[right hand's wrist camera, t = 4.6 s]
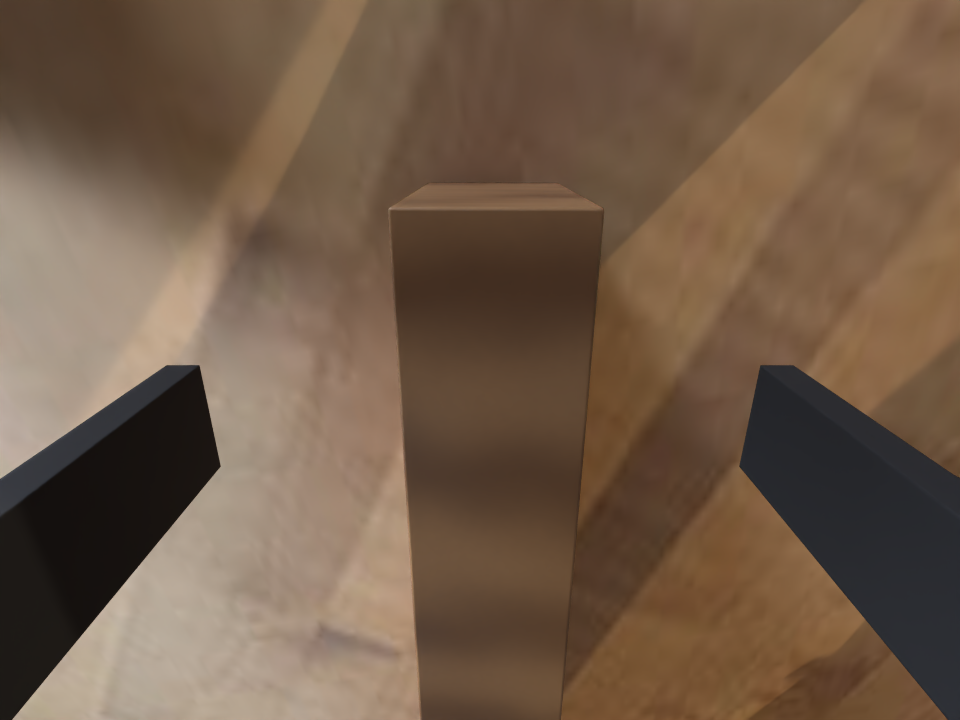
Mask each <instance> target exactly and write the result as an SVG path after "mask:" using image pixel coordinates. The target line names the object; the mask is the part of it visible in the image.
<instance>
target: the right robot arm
mask: <svg viewBox="0 0 960 720" xmlns="http://www.w3.org/2000/svg"><path fill="white" fill-rule="evenodd" d="M220 467H221V466H220V461H219V456H218V452H217V447H216V442H215V437H214V432H213V428H212V423H211V418H210V413H209V409H208V404H207V399H206V394H205V390H204V385H203V380H202V375H201V370H200V366H199V365H167V366H165V367H164V368H162V369H161V370H159V371H158V372H156V373H155V374H153V375H152V376H150V377H149V378H148V379H146V380H145V381H143V382H142V383H140V384H139V385H137V386H136V387H134V388H133V389H131V390H130V391H128V392H127V393H126V394H124V395H123V396H121V397H120V398H118V399H117V400H115V401H114V402H112V403H111V404H109V405H108V406H107V407H105V408H104V409H102V410H101V411H99V412H98V413H96V414H95V415H93V416H92V417H90V418H89V419H87V420H86V421H85V422H83V423H82V424H80V425H79V426H77V427H76V428H74V429H73V430H71V431H70V432H68V433H67V434H66V435H64V436H63V437H61V438H60V439H58V440H57V441H55V442H54V443H52V444H51V445H49V446H48V447H46V448H45V449H44V450H42V451H41V452H39V453H38V454H36V455H35V456H33V457H32V458H30V459H29V460H27V461H26V462H25V463H23V464H22V465H20V466H19V467H17V468H16V469H14V470H13V471H11V472H10V473H8V474H7V475H5V476H4V477H3V478H1V479H0V720H12V719H13V718H14V717H15V715H16V714H17V713H18V712H19V711H20V709H21V708H22V707H23V706H24V704H25V703H26V702H27V701H28V700H29V698H30V697H31V696H32V695H33V694H34V692H35V691H36V690H37V689H38V687H39V686H40V685H41V684H42V683H43V681H44V680H45V679H46V678H47V677H48V675H49V674H50V673H51V672H52V670H53V669H54V668H55V667H56V666H57V664H58V663H59V662H60V661H61V660H62V658H63V657H64V656H65V655H66V653H67V652H68V651H69V650H70V649H71V647H72V646H73V645H74V644H75V643H76V641H77V640H78V639H79V638H80V636H81V635H82V634H83V633H84V632H85V630H86V629H87V628H88V627H89V626H90V624H91V623H92V622H93V621H94V620H95V618H96V617H97V616H98V615H99V613H100V612H101V611H102V610H103V609H104V607H105V606H106V605H107V604H108V603H109V601H110V600H111V599H112V598H113V596H114V595H115V594H116V593H117V592H118V590H119V589H120V588H121V587H122V586H123V584H124V583H125V582H126V581H127V579H128V578H129V577H130V576H131V575H132V573H133V572H134V571H135V570H136V569H137V567H138V566H139V565H140V564H141V562H142V561H143V560H144V559H145V558H146V556H147V555H148V554H149V553H150V552H151V550H152V549H153V548H154V547H155V545H156V544H157V543H158V542H159V541H160V539H161V538H162V537H163V536H164V535H165V533H166V532H167V531H168V530H169V528H170V527H171V526H172V525H173V524H174V522H175V521H176V520H177V519H178V518H179V516H180V515H181V514H182V513H183V511H184V510H185V509H186V508H187V507H188V505H189V504H190V503H191V502H192V501H193V499H194V498H195V497H196V496H197V494H198V493H199V492H200V491H201V490H202V488H203V487H204V486H205V485H206V484H207V482H208V481H209V480H210V479H211V477H212V476H213V475H214V474H215V473H216V471H217V470H218V469H219V468H220ZM739 467H740V468H741V469H742V470H743V471H744V473H745V474H746V475H747V476H748V477H749V479H750V480H751V481H752V482H753V484H754V485H755V486H756V487H757V488H758V490H759V491H760V492H761V493H762V494H763V496H764V497H765V498H766V499H767V501H768V502H769V503H770V504H771V505H772V507H773V508H774V509H775V510H776V511H777V513H778V514H779V515H780V516H781V518H782V519H783V520H784V521H785V522H786V524H787V525H788V526H789V527H790V528H791V530H792V531H793V532H794V533H795V535H796V536H797V537H798V538H799V539H800V541H801V542H802V543H803V544H804V545H805V547H806V548H807V549H808V550H809V552H810V553H811V554H812V555H813V556H814V558H815V559H816V560H817V561H818V562H819V564H820V565H821V566H822V567H823V569H824V570H825V571H826V572H827V573H828V575H829V576H830V577H831V578H832V579H833V581H834V582H835V583H836V584H837V586H838V587H839V588H840V589H841V590H842V592H843V593H844V594H845V595H846V596H847V598H848V599H849V600H850V601H851V603H852V604H853V605H854V606H855V607H856V609H857V610H858V611H859V612H860V613H861V615H862V616H863V617H864V618H865V620H866V621H867V622H868V623H869V624H870V626H871V627H872V628H873V629H874V630H875V632H876V633H877V634H878V635H879V637H880V638H881V639H882V640H883V641H884V643H885V644H886V645H887V646H888V647H889V649H890V650H891V651H892V652H893V654H894V655H895V656H896V657H897V658H898V660H899V661H900V662H901V663H902V664H903V666H904V667H905V668H906V669H907V671H908V672H909V673H910V674H911V675H912V677H913V678H914V679H915V680H916V681H917V683H918V684H919V685H920V686H921V687H922V689H923V690H924V691H925V692H926V694H927V695H928V696H929V697H930V698H931V700H932V701H933V702H934V703H935V704H936V706H937V707H938V708H939V709H940V711H941V712H942V713H943V714H944V715H945V717H946V718H947V719H948V720H960V478H959V477H957V476H955V475H953V474H952V473H950V472H949V471H947V470H946V469H944V468H943V467H941V466H940V465H938V464H937V463H935V462H934V461H933V460H931V459H930V458H928V457H927V456H925V455H924V454H922V453H921V452H919V451H918V450H916V449H915V448H914V447H912V446H911V445H909V444H908V443H906V442H905V441H903V440H902V439H900V438H899V437H897V436H896V435H894V434H893V433H892V432H890V431H889V430H887V429H886V428H884V427H883V426H881V425H880V424H878V423H877V422H875V421H874V420H873V419H871V418H870V417H868V416H867V415H865V414H864V413H862V412H861V411H859V410H858V409H856V408H855V407H853V406H852V405H851V404H849V403H848V402H846V401H845V400H843V399H842V398H840V397H839V396H837V395H836V394H834V393H833V392H832V391H830V390H829V389H827V388H826V387H824V386H823V385H821V384H820V383H818V382H817V381H815V380H814V379H812V378H811V377H810V376H808V375H807V374H805V373H804V372H802V371H801V370H799V369H798V368H796V367H795V366H793V365H761V366H760V370H759V375H758V380H757V385H756V390H755V394H754V399H753V404H752V409H751V413H750V418H749V423H748V428H747V432H746V437H745V442H744V447H743V452H742V456H741V461H740V466H739Z"/></svg>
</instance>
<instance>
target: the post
mask: <svg viewBox="0 0 960 720" xmlns="http://www.w3.org/2000/svg"><path fill="white" fill-rule="evenodd" d="M388 217H389V233H390V249H391V265H392V281H393V296H394V312H395V328H396V344H397V360H398V375H399V391H400V407H401V423H402V439H403V455H404V470H405V486H406V502H407V518H408V534H409V549H410V565H411V581H412V597H413V613H414V628H415V644H416V660H417V676H418V692H419V707H420V720H561V711H562V699H563V687H564V676H565V664H566V652H567V641H568V629H569V617H570V605H571V594H572V582H573V570H574V559H575V547H576V535H577V523H578V512H579V500H580V488H581V477H582V465H583V453H584V441H585V430H586V418H587V406H588V395H589V383H590V371H591V359H592V348H593V336H594V324H595V312H596V301H597V289H598V277H599V266H600V254H601V242H602V230H603V219H604V209H603V208H602V207H600V206H598V205H596V204H595V203H593V202H591V201H589V200H587V199H586V198H584V197H582V196H580V195H578V194H576V193H575V192H573V191H571V190H569V189H567V188H566V187H564V186H562V185H560V184H558V183H428V184H426V185H425V186H423V187H422V188H420V189H418V190H417V191H415V192H414V193H412V194H410V195H409V196H407V197H406V198H404V199H402V200H401V201H399V202H398V203H396V204H394V205H393V206H391V207H390V208H389V209H388Z"/></svg>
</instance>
